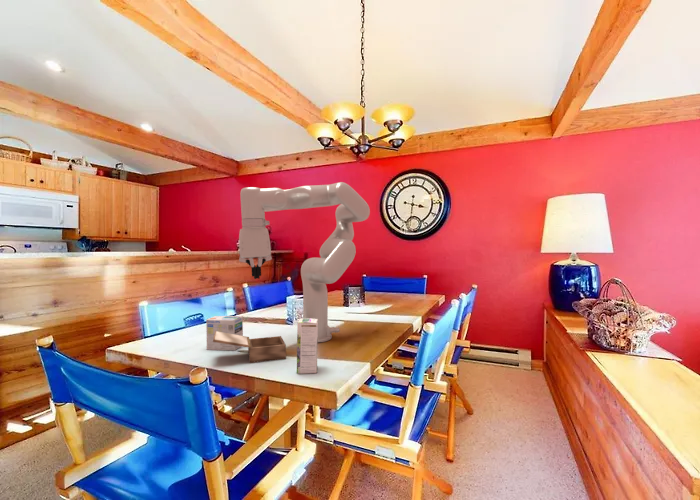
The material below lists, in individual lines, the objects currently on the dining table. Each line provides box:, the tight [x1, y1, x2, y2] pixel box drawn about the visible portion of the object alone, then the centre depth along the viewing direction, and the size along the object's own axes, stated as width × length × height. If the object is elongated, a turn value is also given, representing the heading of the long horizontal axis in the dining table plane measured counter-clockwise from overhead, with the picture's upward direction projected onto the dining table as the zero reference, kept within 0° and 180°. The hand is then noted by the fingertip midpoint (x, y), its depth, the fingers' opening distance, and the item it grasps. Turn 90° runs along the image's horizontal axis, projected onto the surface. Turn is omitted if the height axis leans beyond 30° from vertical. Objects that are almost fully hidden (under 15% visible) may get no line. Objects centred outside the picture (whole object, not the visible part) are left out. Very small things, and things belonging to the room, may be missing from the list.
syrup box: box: [296, 317, 319, 375], centre depth 94 cm, size 6×6×14 cm
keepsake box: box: [247, 335, 287, 364], centre depth 106 cm, size 11×11×4 cm
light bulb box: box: [205, 315, 244, 351], centre depth 115 cm, size 11×7×11 cm, turn 84°
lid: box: [213, 331, 251, 349], centre depth 103 cm, size 11×11×1 cm
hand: (256, 278), depth 110 cm, fingers closed
